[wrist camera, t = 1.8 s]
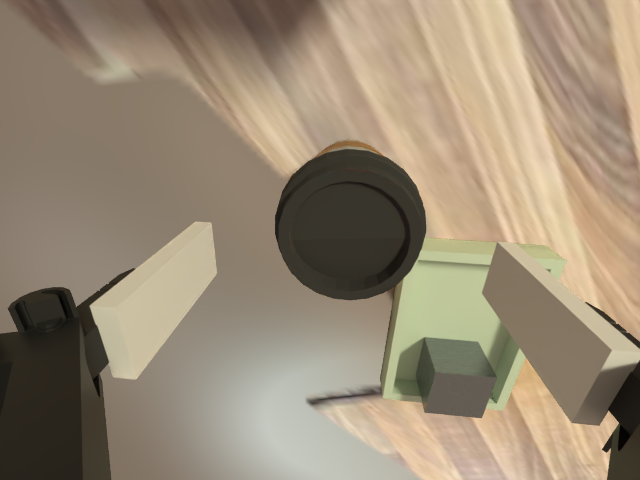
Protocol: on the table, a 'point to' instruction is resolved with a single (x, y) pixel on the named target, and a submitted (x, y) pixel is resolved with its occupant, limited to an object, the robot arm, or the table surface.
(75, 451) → the robot arm
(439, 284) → the green tray
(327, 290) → the coffee cup
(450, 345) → the cube
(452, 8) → the table surface
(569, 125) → the table surface
